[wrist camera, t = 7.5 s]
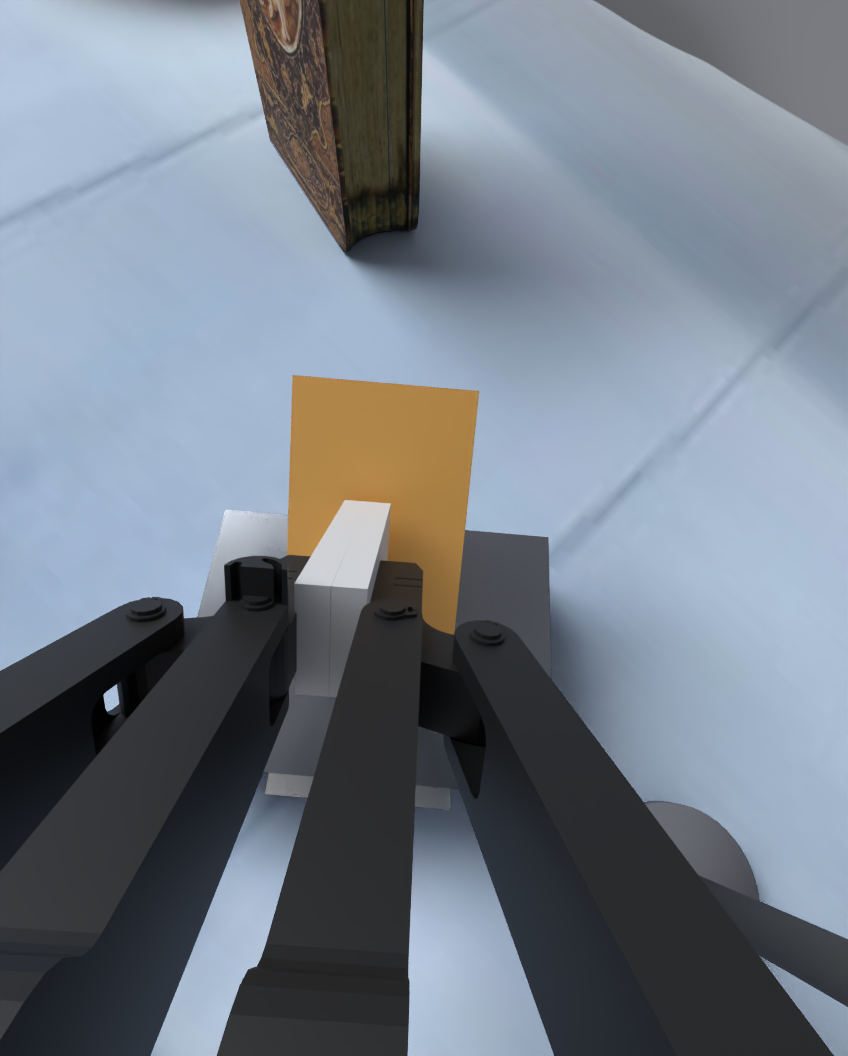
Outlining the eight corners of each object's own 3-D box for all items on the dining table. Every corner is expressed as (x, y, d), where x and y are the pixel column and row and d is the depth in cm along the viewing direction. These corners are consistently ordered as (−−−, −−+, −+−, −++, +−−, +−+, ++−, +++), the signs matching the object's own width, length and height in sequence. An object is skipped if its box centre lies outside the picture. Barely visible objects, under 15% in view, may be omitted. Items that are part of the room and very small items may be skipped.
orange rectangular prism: (456, 670, 18) (485, 391, 16) (278, 654, 18) (286, 374, 16) (454, 646, 20) (479, 395, 18) (293, 632, 20) (302, 379, 18)
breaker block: (524, 809, 22) (554, 823, 18) (203, 782, 22) (151, 788, 18) (523, 575, 27) (548, 537, 22) (256, 551, 27) (225, 509, 22)
